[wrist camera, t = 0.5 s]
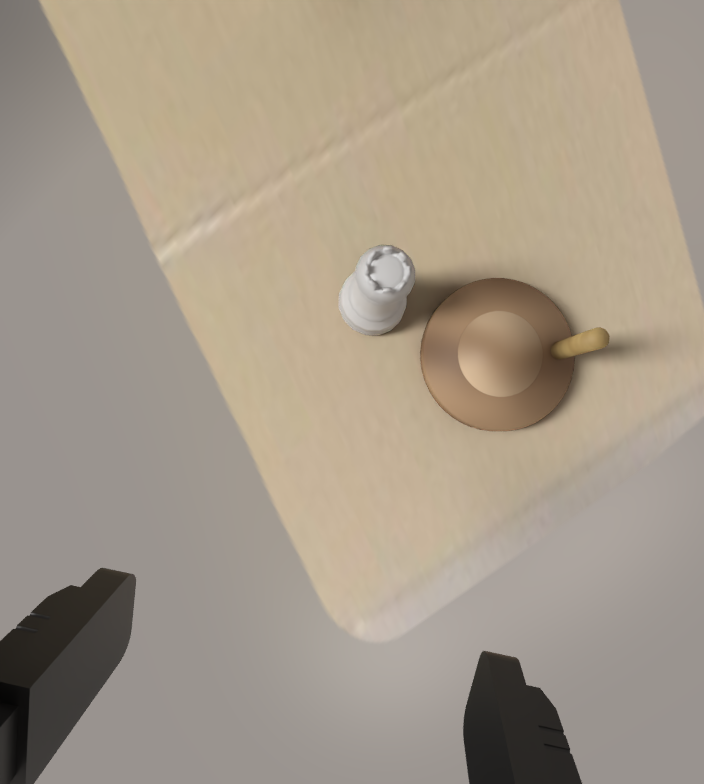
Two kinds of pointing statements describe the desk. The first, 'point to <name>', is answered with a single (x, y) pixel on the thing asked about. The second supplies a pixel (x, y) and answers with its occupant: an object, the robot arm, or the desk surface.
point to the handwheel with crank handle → (501, 354)
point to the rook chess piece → (377, 290)
